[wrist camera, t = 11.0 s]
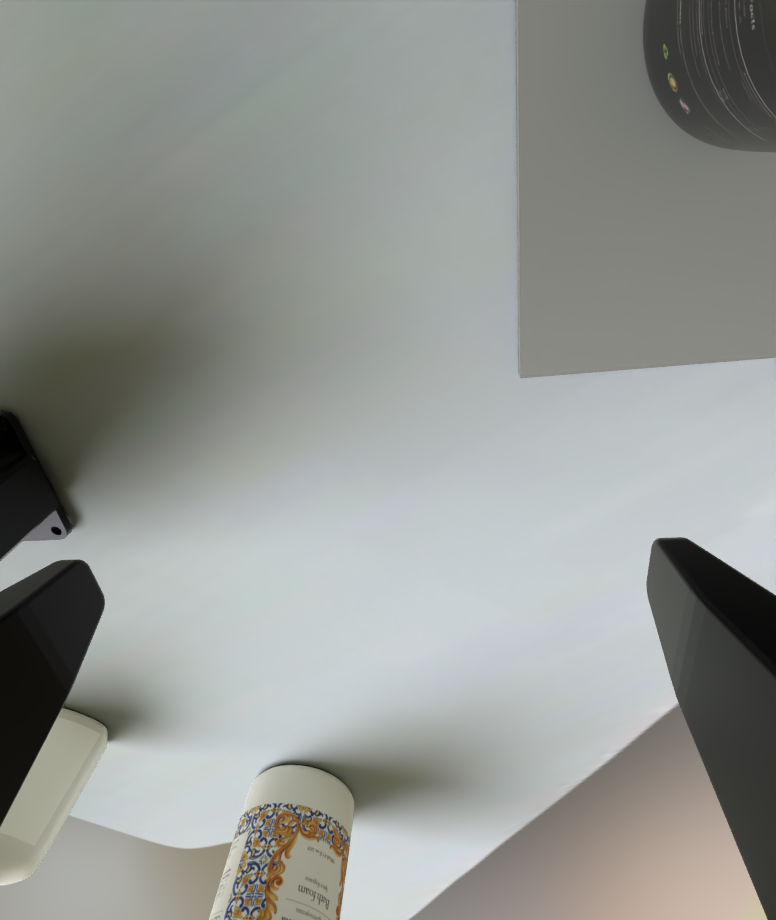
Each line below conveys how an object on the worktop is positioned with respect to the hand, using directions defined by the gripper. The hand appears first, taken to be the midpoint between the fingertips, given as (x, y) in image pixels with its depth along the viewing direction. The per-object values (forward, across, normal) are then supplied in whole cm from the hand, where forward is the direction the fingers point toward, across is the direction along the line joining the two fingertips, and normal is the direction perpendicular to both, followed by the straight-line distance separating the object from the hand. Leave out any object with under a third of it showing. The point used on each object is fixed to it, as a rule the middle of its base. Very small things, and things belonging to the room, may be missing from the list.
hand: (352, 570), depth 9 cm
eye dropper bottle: (+13, +24, +23) cm, 36 cm away
